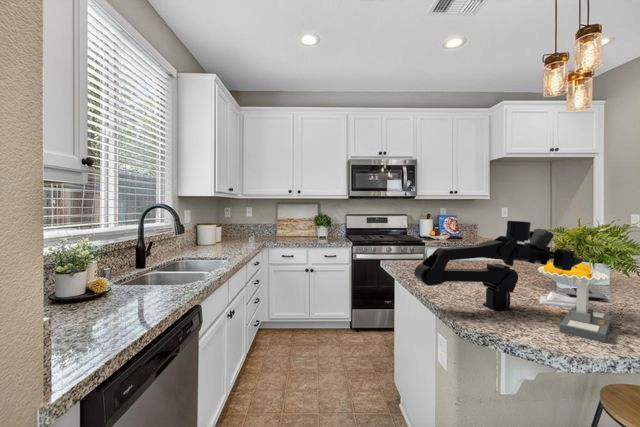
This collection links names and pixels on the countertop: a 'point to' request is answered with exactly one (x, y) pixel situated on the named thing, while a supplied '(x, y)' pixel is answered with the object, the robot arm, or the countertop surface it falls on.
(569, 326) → the grey stand base
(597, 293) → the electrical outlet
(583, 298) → the handle
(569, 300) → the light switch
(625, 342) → the countertop surface
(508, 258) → the robot arm
